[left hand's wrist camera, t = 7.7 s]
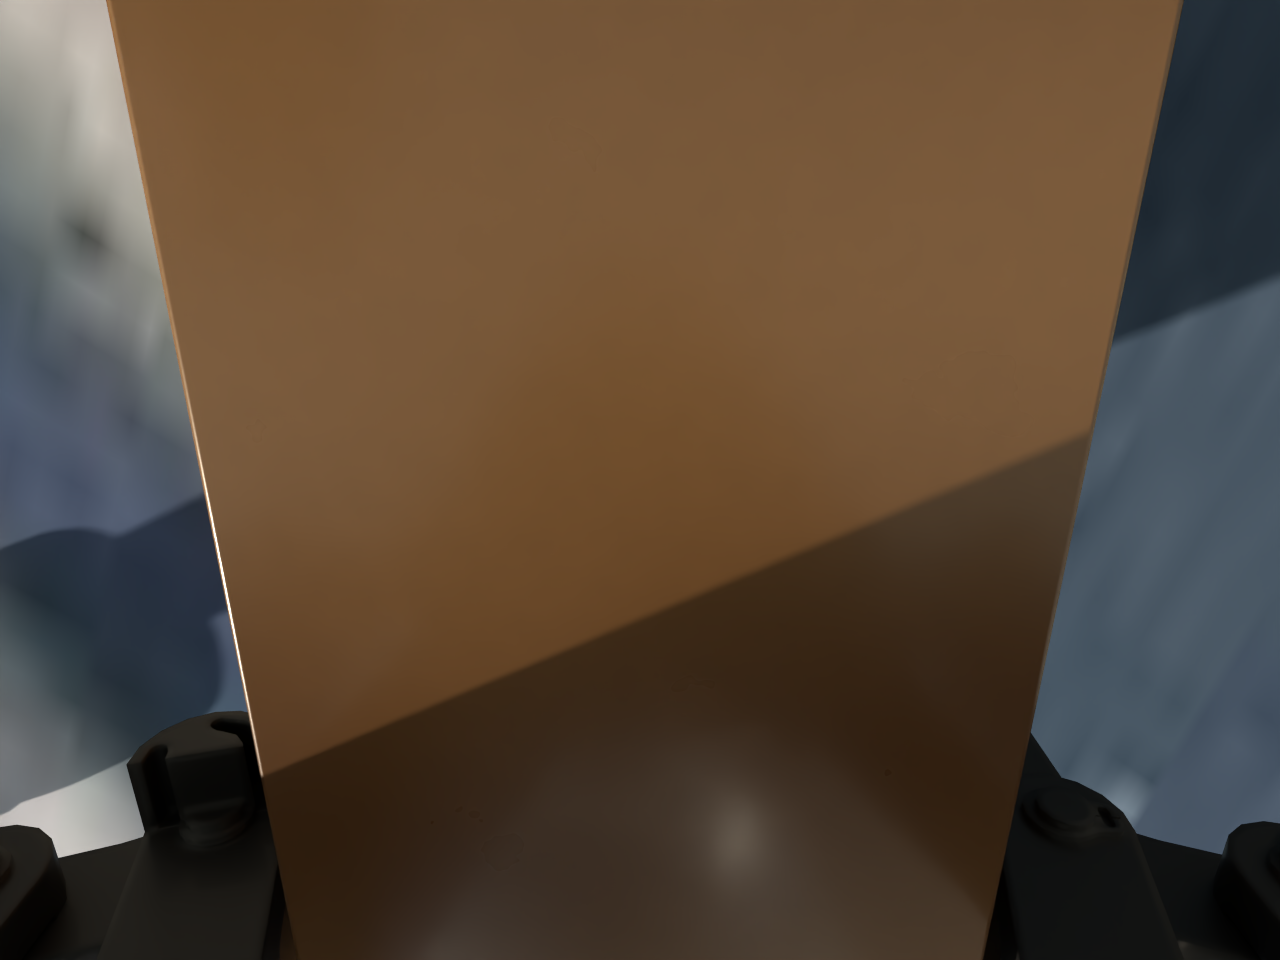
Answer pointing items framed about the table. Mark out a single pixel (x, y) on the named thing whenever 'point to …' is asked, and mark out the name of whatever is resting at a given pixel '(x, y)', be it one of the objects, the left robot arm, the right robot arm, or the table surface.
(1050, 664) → the table surface
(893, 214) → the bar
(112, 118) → the table surface
